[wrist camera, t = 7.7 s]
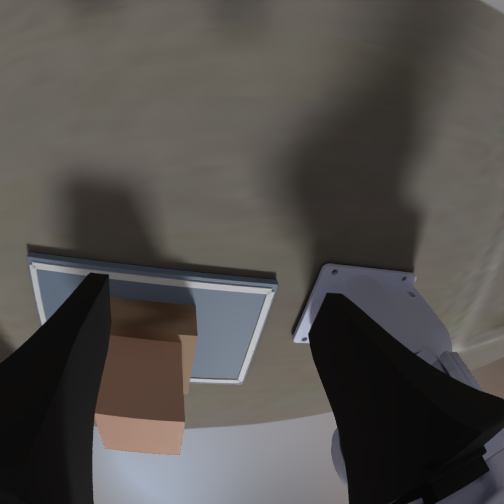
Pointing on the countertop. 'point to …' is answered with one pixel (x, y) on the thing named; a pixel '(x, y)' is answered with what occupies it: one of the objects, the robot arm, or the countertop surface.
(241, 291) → the board
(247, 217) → the countertop surface
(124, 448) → the terracotta block
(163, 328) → the walnut base block
